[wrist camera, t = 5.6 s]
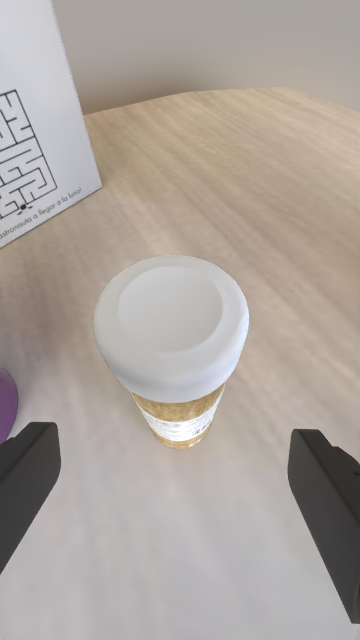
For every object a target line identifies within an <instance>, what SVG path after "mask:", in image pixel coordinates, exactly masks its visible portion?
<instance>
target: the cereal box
mask: <svg viewBox="0 0 360 640" xmlns="http://www.w3.org/2000/svg"><path fill="white" fill-rule="evenodd" d="M101 187H102V183H101V179H100V176H99V172H98V168H97V165H96V161H95V158H94V154H93V150H92V147H91V143H90V139H89V136H88V132H87V128H86V125H85V121H84V117H83V114H82V110H81V107H80V103H79V99H78V96H77V92H76V88H75V85H74V81H73V77H72V74H71V70H70V67H69V63H68V59H67V55H66V52H65V48H64V45H63V41H62V38H61V34H60V30H59V26H58V23H57V19H56V15H55V12H54V8H53V4H52V1H51V0H0V248H1V247H3V246H4V245H6V244H8V243H9V242H11V241H13V240H14V239H16V238H18V237H19V236H21V235H23V234H24V233H26V232H28V231H29V230H31V229H33V228H34V227H36V226H38V225H39V224H41V223H43V222H44V221H46V220H48V219H49V218H51V217H53V216H54V215H56V214H58V213H59V212H61V211H63V210H65V209H66V208H68V207H70V206H71V205H73V204H75V203H76V202H78V201H80V200H81V199H83V198H85V197H86V196H88V195H90V194H91V193H93V192H95V191H96V190H98V189H100V188H101Z"/></svg>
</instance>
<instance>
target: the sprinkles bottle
mask: <svg viewBox="0 0 360 640" xmlns="http://www.w3.org/2000/svg"><path fill="white" fill-rule="evenodd" d="M248 326H249V312H248V307H247V303H246V300H245V297H244V295H243V293H242V291H241V289H240V287H239V286H238V285H237V283H236V282H235V281H234V280H233V279H232V277H231V276H230V275H228V274H227V273H226V272H225V271H224V270H222V269H221V268H219V267H218V266H216V265H214V264H212V263H210V262H208V261H206V260H203V259H200V258H196V257H193V256H186V255H160V256H155V257H151V258H147V259H144V260H141V261H139V262H137V263H134V264H132V265H130V266H129V267H127V268H125V269H124V270H123V271H121V272H120V273H118V274H117V275H116V276H115V277H114V278H113V279H112V280H111V281H110V282H109V283H108V284H107V286H106V287H105V288H104V290H103V291H102V293H101V295H100V297H99V299H98V302H97V304H96V307H95V311H94V318H93V327H94V335H95V339H96V342H97V345H98V347H99V350H100V352H101V354H102V355H103V357H104V359H105V361H106V362H107V364H108V366H109V367H110V369H111V371H112V372H113V374H114V375H115V377H116V378H117V379H118V380H119V381H120V383H121V384H122V385H124V386H125V387H126V388H127V389H128V390H130V392H131V395H132V396H133V398H134V400H135V402H136V404H137V405H138V407H139V408H140V410H141V412H142V414H143V415H144V417H145V419H146V421H147V422H148V424H149V425H150V428H151V430H152V432H153V433H154V435H155V437H156V438H157V439H158V440H159V441H160V442H161V443H163V444H164V445H166V446H168V447H171V448H176V449H185V448H189V447H192V446H194V445H196V444H197V443H198V442H200V441H201V440H202V439H203V438H204V437H205V436H206V434H207V433H208V431H209V428H210V426H211V423H212V419H213V416H214V414H215V411H216V409H217V407H218V404H219V401H220V398H221V395H222V393H223V390H224V387H225V382H226V380H227V379H228V377H229V376H230V375H231V373H232V372H233V370H234V369H235V366H236V364H237V362H238V360H239V357H240V354H241V352H242V349H243V346H244V343H245V340H246V336H247V332H248Z"/></svg>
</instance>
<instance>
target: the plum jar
mask: <svg viewBox="0 0 360 640" xmlns="http://www.w3.org/2000/svg"><path fill="white" fill-rule="evenodd" d="M17 407H18V393H17V389H16V385H15V383H14V380H13V379H12V377H11V376H10V374H9V373H8V372H7V371H6V370H4V369H3V368H1V367H0V444H2V443H3V442H4V441H5V439H6V438H7V436H8V434H9V432H10V430H11V428H12V426H13V423H14V420H15V417H16V412H17Z"/></svg>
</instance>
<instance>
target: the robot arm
mask: <svg viewBox="0 0 360 640" xmlns="http://www.w3.org/2000/svg"><path fill="white" fill-rule="evenodd" d="M60 468H61V456H60V447H59V437H58V428H57V425H56V423H54V422H31V423H29V424H28V425H27V426H26V427H25V428H24V429H23V430H22V431H21V432H20V433H19V434H18V435H17V436H16V437H12V438H10V439H8V440H7V441H5V442H3V443H2V444H0V574H1V573H2V571H3V569H4V568H5V566H6V564H7V563H8V561H9V559H10V558H11V556H12V554H13V553H14V551H15V549H16V548H17V546H18V544H19V543H20V541H21V540H22V538H23V536H24V535H25V533H26V531H27V530H28V528H29V526H30V525H31V523H32V521H33V520H34V518H35V516H36V515H37V513H38V511H39V510H40V508H41V506H42V505H43V503H44V501H45V500H46V498H47V496H48V495H49V493H50V491H51V490H52V488H53V486H54V485H55V483H56V481H57V479H58V476H59V473H60ZM288 479H289V484H290V488H291V490H292V493H293V495H294V497H295V499H296V502H297V504H298V506H299V508H300V510H301V513H302V515H303V517H304V519H305V521H306V524H307V526H308V528H309V530H310V533H311V535H312V537H313V539H314V541H315V544H316V546H317V548H318V550H319V552H320V555H321V557H322V559H323V561H324V563H325V566H326V568H327V570H328V572H329V574H330V577H331V579H332V581H333V583H334V585H335V588H336V590H337V592H338V594H339V596H340V599H341V601H342V603H343V605H344V607H345V610H346V612H347V614H348V616H349V618H350V621H351V623H356V624H360V464H359V463H358V462H357V461H356V460H355V459H354V458H353V457H352V456H350V455H349V454H348V453H346V452H345V451H343V450H342V449H341V448H339V447H333V446H332V445H331V444H330V443H329V442H328V440H327V439H326V438H325V437H324V435H323V434H322V433H321V432H320V431H319V430H317V429H294V430H293V431H292V434H291V443H290V452H289V461H288Z"/></svg>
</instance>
